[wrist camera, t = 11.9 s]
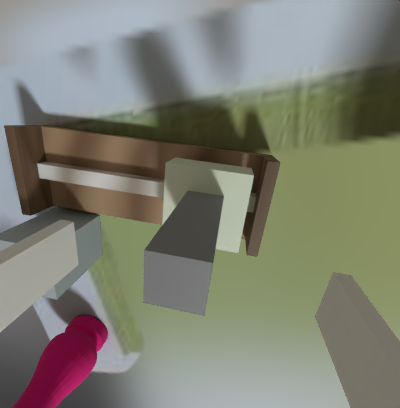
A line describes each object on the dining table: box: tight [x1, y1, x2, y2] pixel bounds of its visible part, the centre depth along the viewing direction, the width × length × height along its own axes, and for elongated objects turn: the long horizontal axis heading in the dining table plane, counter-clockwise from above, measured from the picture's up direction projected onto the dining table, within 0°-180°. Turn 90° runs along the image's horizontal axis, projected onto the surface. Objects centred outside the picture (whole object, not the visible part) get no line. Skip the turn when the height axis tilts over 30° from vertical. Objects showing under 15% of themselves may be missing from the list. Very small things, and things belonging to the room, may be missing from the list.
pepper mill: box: [12, 315, 108, 408], centre depth 26 cm, size 7×7×20 cm
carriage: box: [143, 157, 254, 316], centre depth 15 cm, size 7×7×12 cm
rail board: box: [4, 125, 280, 257], centre depth 22 cm, size 25×9×4 cm, turn 84°
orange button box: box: [0, 208, 102, 300], centre depth 25 cm, size 6×6×8 cm
